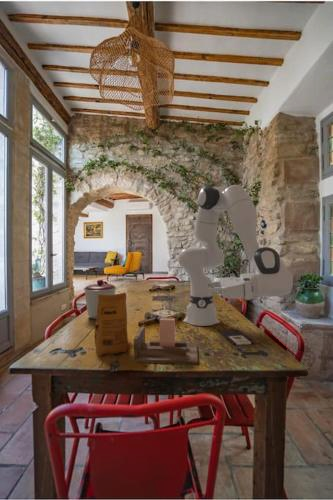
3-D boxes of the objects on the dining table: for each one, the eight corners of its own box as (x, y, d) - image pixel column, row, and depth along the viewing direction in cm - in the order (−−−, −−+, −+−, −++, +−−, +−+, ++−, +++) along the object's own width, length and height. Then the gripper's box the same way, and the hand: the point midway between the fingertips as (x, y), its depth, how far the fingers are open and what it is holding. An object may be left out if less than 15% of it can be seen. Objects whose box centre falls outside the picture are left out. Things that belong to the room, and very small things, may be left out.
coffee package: (94, 347, 111) (94, 292, 110) (125, 344, 114) (125, 290, 113) (94, 356, 101) (94, 296, 101) (128, 353, 104) (128, 294, 104)
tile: (160, 349, 105) (160, 318, 105) (175, 350, 104) (175, 318, 104) (159, 352, 103) (159, 319, 102) (174, 352, 102) (174, 320, 102)
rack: (142, 345, 112) (142, 325, 112) (196, 347, 110) (196, 326, 110) (133, 361, 97) (133, 339, 96) (197, 364, 95) (197, 340, 94)
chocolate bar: (237, 329, 132) (254, 342, 114) (237, 331, 132) (254, 344, 114) (218, 330, 131) (233, 343, 113) (218, 332, 131) (233, 346, 113)
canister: (120, 313, 165) (120, 277, 164) (111, 321, 147) (111, 281, 146) (90, 312, 166) (90, 277, 166) (78, 321, 148) (77, 281, 148)
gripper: (241, 272, 111) (206, 275, 113) (250, 282, 91) (207, 284, 93) (242, 288, 111) (208, 290, 113) (251, 301, 91) (209, 303, 93)
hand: (207, 287), depth 103 cm, fingers open, 8 cm apart
